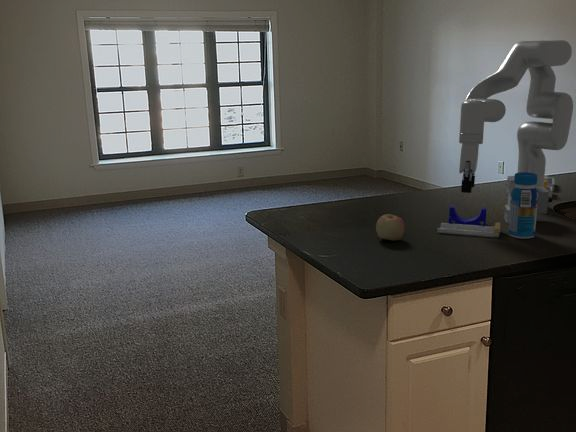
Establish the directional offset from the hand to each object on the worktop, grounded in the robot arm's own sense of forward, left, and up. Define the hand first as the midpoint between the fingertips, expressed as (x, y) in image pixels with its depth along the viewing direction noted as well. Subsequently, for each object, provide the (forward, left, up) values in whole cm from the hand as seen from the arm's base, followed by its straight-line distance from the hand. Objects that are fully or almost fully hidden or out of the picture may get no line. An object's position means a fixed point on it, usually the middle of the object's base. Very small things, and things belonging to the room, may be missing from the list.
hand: (467, 189), depth 213 cm
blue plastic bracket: (-1, 0, -13) cm, 13 cm away
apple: (+24, -21, -13) cm, 34 cm away
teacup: (-69, +22, -13) cm, 74 cm away
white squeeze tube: (+8, +2, -12) cm, 15 cm away
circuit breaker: (-12, +19, -13) cm, 26 cm away
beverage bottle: (+8, +18, -13) cm, 23 cm away
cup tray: (-70, +21, -12) cm, 74 cm away
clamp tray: (-53, +19, -12) cm, 58 cm away
